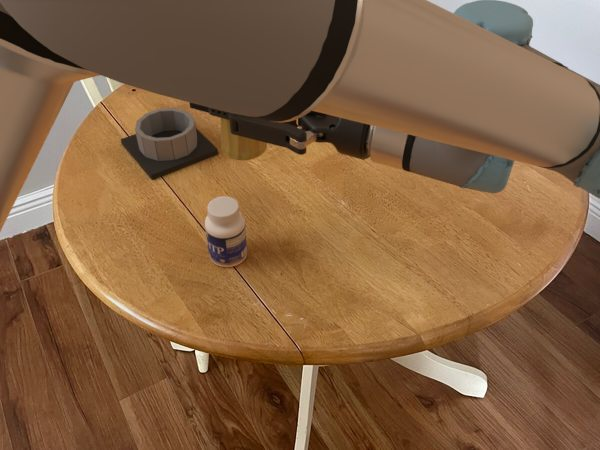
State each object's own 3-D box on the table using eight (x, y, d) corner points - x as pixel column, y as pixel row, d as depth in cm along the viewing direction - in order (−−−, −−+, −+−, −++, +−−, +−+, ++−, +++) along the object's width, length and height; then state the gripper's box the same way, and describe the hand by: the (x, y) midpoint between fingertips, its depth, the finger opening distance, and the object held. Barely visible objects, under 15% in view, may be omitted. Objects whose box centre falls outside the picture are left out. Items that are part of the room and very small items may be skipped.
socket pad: (152, 180, 92) (146, 154, 89) (121, 144, 99) (115, 118, 96) (218, 154, 97) (215, 128, 94) (185, 121, 104) (181, 96, 101)
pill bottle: (201, 253, 80) (193, 204, 74) (232, 235, 83) (227, 187, 77) (224, 274, 77) (218, 225, 71) (255, 255, 80) (252, 206, 74)
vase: (248, 167, 75) (240, 64, 65) (211, 151, 77) (198, 50, 68) (275, 143, 79) (272, 43, 69) (239, 129, 81) (231, 31, 71)
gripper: (345, 201, 63) (166, 148, 71) (398, 117, 76) (241, 79, 83) (349, 144, 58) (156, 93, 66) (405, 64, 71) (237, 28, 78)
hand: (203, 85), depth 74 cm, fingers closed on vase, 5 cm apart
